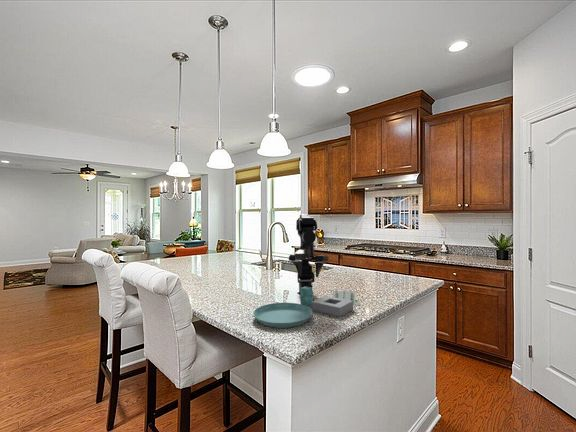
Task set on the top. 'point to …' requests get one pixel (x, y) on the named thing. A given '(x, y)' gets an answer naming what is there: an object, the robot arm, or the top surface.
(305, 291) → the teal peg
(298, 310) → the saucer
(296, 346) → the top surface
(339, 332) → the top surface
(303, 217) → the robot arm
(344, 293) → the metal bracket
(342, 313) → the well block
